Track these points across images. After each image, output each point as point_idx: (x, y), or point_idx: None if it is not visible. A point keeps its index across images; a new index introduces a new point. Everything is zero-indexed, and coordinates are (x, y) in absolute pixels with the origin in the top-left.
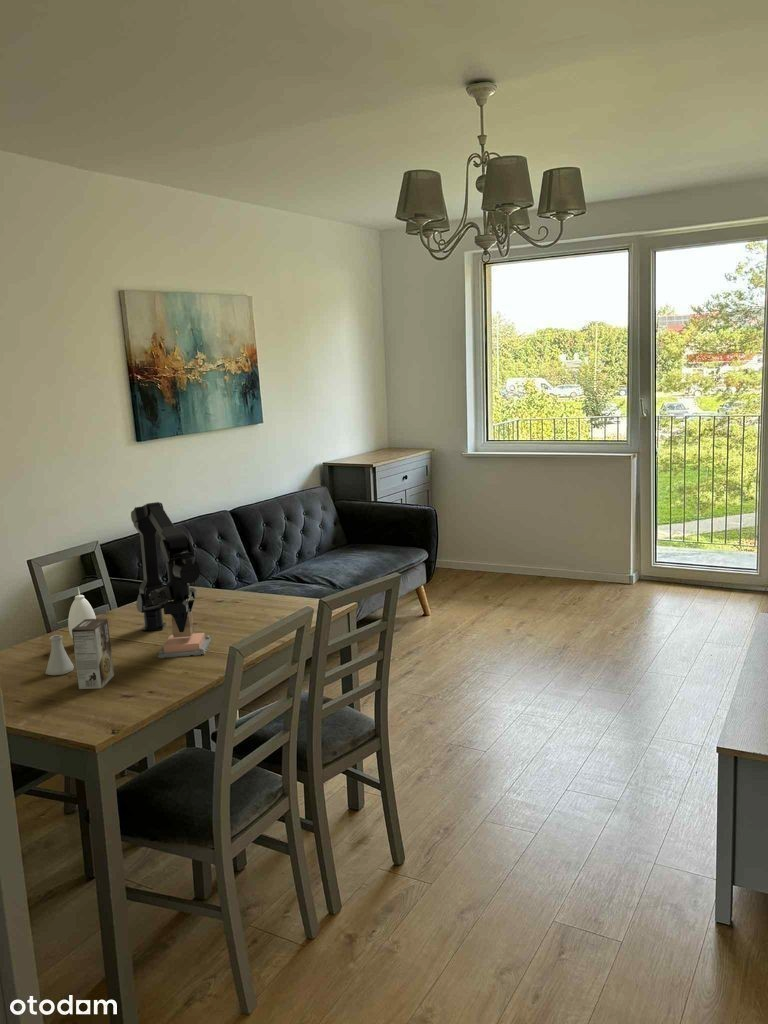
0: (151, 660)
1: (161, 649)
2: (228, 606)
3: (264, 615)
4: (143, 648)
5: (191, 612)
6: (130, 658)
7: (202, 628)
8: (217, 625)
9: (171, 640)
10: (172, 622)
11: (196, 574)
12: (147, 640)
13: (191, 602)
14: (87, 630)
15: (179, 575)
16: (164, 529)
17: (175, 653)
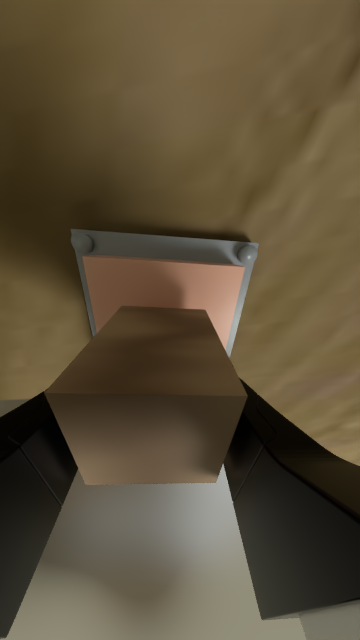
0: (50, 202)
1: (139, 236)
2: None
3: (346, 439)
4: (231, 119)
5: (189, 482)
6: (75, 49)
7: (352, 340)
8: (349, 372)
9: (159, 283)
10: (80, 356)
11: None
12: (356, 122)
13: (271, 618)
14: None
15: None
16: None
17: (86, 299)
